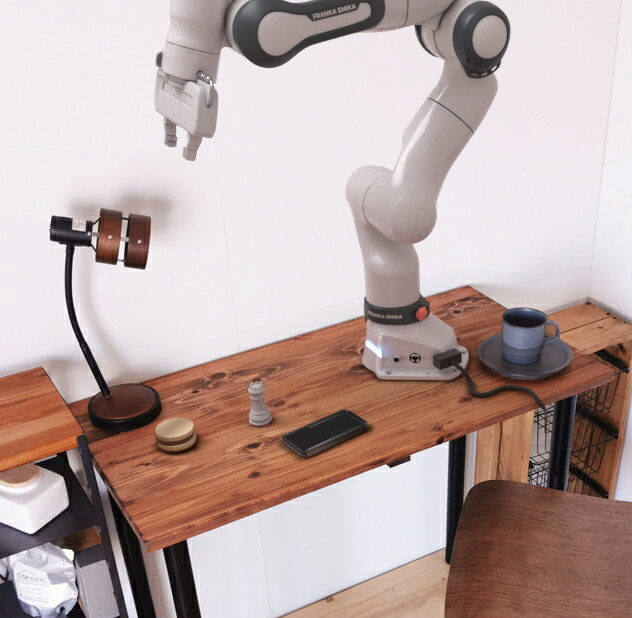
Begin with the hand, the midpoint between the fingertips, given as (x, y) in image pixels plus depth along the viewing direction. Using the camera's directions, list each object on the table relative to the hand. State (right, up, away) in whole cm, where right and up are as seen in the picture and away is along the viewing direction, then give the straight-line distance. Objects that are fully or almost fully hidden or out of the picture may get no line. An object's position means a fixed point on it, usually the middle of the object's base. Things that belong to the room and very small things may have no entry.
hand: (179, 152), depth 154 cm
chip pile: (-3, -49, +15) cm, 51 cm away
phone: (+24, -48, +15) cm, 55 cm away
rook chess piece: (+11, -45, +20) cm, 51 cm away
